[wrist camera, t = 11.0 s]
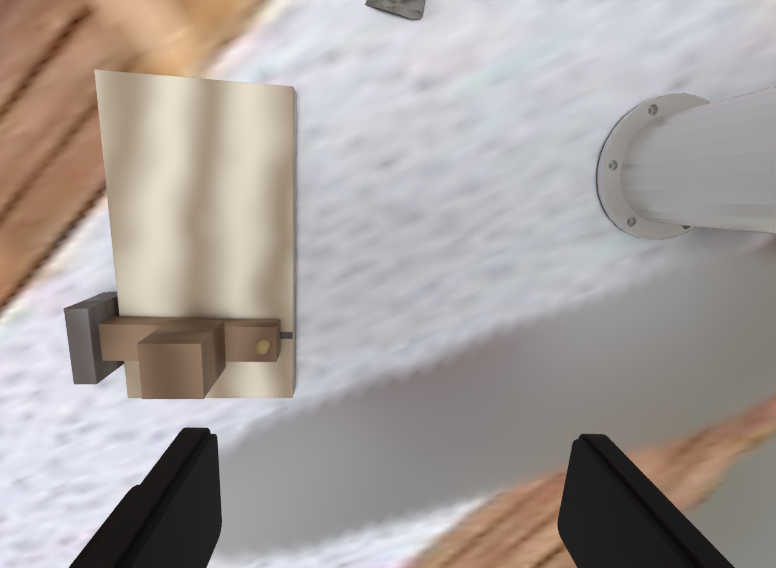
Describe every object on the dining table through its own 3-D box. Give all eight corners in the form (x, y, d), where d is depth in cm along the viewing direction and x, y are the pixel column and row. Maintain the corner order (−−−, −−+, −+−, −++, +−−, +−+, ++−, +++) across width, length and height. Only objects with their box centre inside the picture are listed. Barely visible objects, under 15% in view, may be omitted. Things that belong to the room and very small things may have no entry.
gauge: (283, 297, 35) (262, 331, 26) (283, 359, 36) (263, 411, 27) (103, 292, 33) (18, 326, 25) (111, 358, 34) (32, 412, 26)
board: (296, 93, 32) (292, 86, 29) (295, 387, 37) (292, 398, 35) (110, 77, 30) (93, 69, 28) (139, 386, 36) (127, 398, 34)
